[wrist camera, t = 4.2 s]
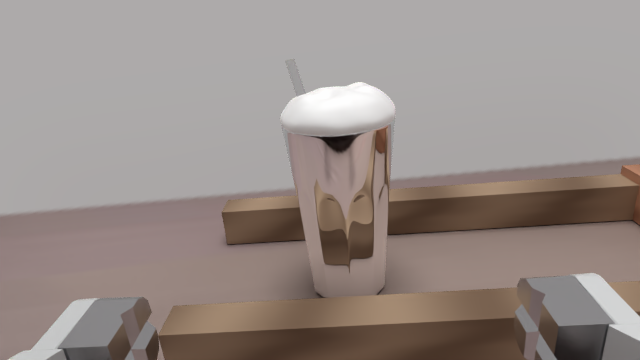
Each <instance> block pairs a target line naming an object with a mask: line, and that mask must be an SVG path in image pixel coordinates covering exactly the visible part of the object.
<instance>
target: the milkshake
mask: <svg viewBox="0 0 640 360" xmlns="http://www.w3.org/2000/svg"><path fill="white" fill-rule="evenodd" d="M286 65H287V68H288V71H289V74H290V77H291V80H292V83H293V86H294V89H295V92H296V95H297V97H295V98H293V99H292V100H291V101H290V102H289V103H288V105H287V106H286V107H285V109H284V111H283V112H282V114H281V118H280V121H281V126H282V131H283V136H284V140H285V145H286V149H287V154H288V158H289V162H290V167H291V171H292V176H293V180H294V184H295V189H296V193H297V198H298V203H299V208H300V213H301V218H302V224H303V229H304V234H305V239H306V245H307V250H308V255H309V260H310V266H311V271H312V276H313V282H314V287H315V291H316V292H317V293H318V294H320V295H321V296H322V297H324V298H332V297H351V296H370V295H377V294H378V293H379V291H380V290H381V289H382V288H383V287H384V284H385V267H386V247H387V227H388V207H389V188H390V174H391V162H392V149H393V137H394V126H395V125H394V124H395V114H396V109H395V105H394V103H393V102H392V100H391V99H390V98H389V97H388V96H387V95H386V94H385V93H383V92H382V91H380V90H379V89H377V88H375V87H373V86H369V85H367V84H366V83H363V82H357V83H354V84H351V85H348V86H346V87H338V86H334V87H327V88H325V87H324V88H319V89H316V90H314V91H312V92H309V93H305V90H304V87H303V84H302V81H301V78H300V75H299V72H298V69H297V66H296V63H295V61H294V59H290V60H286Z"/></svg>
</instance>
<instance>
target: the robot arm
mask: <svg viewBox="0 0 640 360" xmlns="http://www.w3.org/2000/svg"><path fill="white" fill-rule="evenodd" d="M516 295H517V296H518V298H519V300H520V301H521V303H522V304H521V306H520V307H519V308H518V309H517V310H516V311H515V314H514V330H515V337H516V341H517V344H518V347H519V349H520V351H521V353H522V355H523V357H524V358H526V359H527V360H640V316H639V315H638V314H637V313H636V312H635V311H634V310H633V309H632V308H631V307H630V306H629V305H628V304H627V303H626V302H625V301H624V300H623V299H622V298H621V297H620V296H619V295H618V294H617V293H616V292H615V291H614V290H613V289H612V288H611V287H610V286H609V284H608V283H607V282H606V281H605V280H604V279H603V278H602V277H601V276H600V275H597V274H595V273H586V274H573V275H569V276H553V277H536V278H520V280H519V283H518V286H517V294H516ZM151 313H152V312H151V309H150V306H149V303H148V300H147V299H145V298H144V297H123V298H100V299H98V298H93V299H79V300H76V301H73V302H72V303H71V304H70V305H69V306H68V308H67V309H66V310H65V311H64V312H63V313H62V315H61V316H60V317H59V318H58V319H57V320H56V321H55V323H54V324H53V325H52V326H51V327H50V328H49V330H48V331H47V332H46V333H45V334H44V335H43V337H42V338H41V339H40V340H39V341H38V342H37V343H36V345H35V346H34V347H33V348H32V349H31V350H29V351H22V352H20V353H18V354H17V355H15V356H13V357H11V358H10V359H8V360H157V356H158V351H159V341H158V334H157V330H156V328H155V327H154V326H153V325H151V324H150V323H149V322H148V321H147V320H148V318H149V316H150V314H151Z"/></svg>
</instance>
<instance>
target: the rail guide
mask: <svg viewBox="0 0 640 360" xmlns="http://www.w3.org/2000/svg"><path fill="white" fill-rule="evenodd" d="M222 217H223V222H224V228H225V233H226V239H227V244H241V243H257V242H274V241H290V240H306V239H305V234H304V229H303V224H302V218H301V213H300V208H299V203H298V198H297V196H283V197H268V198H252V199H237V200H228V201H227V203H226V205H225V207H224V209H223V211H222ZM620 220H633V221H635V222H636V223H637V224H639V225H640V165H625V166H622V170H621V174H615V175H600V176H585V177H570V178H555V179H540V180H525V181H509V182H494V183H479V184H464V185H449V186H434V187H419V188H404V189H389V207H388V227H387V235H389V234H406V233H422V232H438V231H455V230H471V229H488V228H504V227H521V226H537V225H554V224H570V223H587V222H603V221H620ZM608 284H609V286H610V287H611V288H612V289H613V290H614V291H615V292H616V293H617V294H618V295H619V296H620V297H621V298H622V299H623V300H624V301H625V302H626V303H627V304H628V305H629V306H630V307H631V308H632V309H633V310H634V311H635V312H636V313H637V314H638V315H639V316H640V281H631V282H612V283H608ZM516 294H517V288H500V289H482V290H463V291H444V292H426V293H407V294H388V295H370V296H351V297H332V298H314V299H295V300H276V301H258V302H239V303H220V304H202V305H183V306H173V308H172V310H171V312H170V314H169V316H168V318H167V319H166V321H165V323H164V325H163V327H162V329H161V331H160V333H159V335H158V337H159V340H160V344H161V347H162V351H163V355H164V358H165V360H527V359H526V358H524V357H523V355H522V353H521V351H520V349H519V347H518V344H517V341H516V337H515V330H514V314H515V311H516V310H517V309H518V308H519V307H520V306H521V304H522V303H521V301H520V300H519V298H518V296H517V295H516Z"/></svg>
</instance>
